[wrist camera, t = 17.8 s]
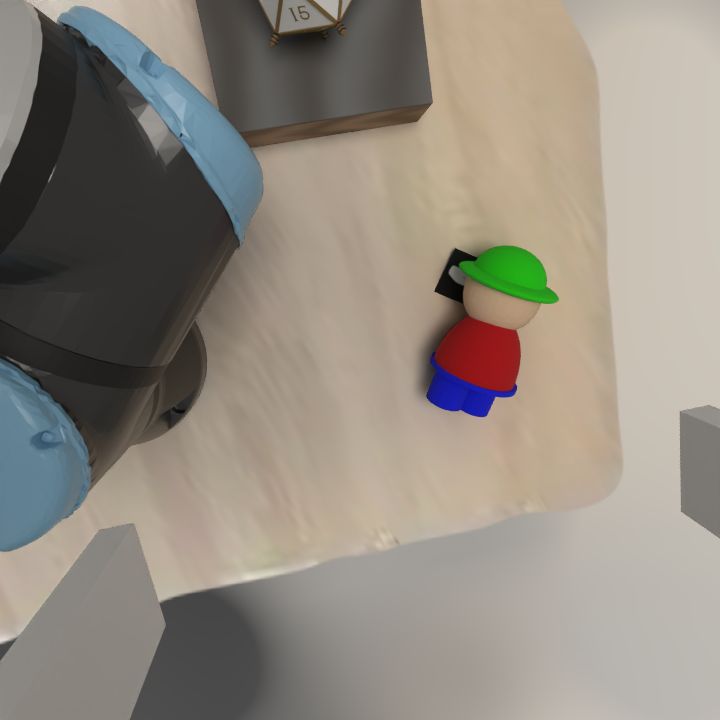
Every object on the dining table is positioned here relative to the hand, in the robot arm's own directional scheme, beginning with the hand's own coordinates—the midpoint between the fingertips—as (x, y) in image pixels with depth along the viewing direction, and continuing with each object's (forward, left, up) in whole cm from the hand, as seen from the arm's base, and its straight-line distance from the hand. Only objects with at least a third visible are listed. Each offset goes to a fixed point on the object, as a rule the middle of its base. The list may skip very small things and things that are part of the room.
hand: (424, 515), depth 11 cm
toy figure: (+13, -3, -35) cm, 37 cm away
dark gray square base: (+2, +24, -35) cm, 42 cm away
